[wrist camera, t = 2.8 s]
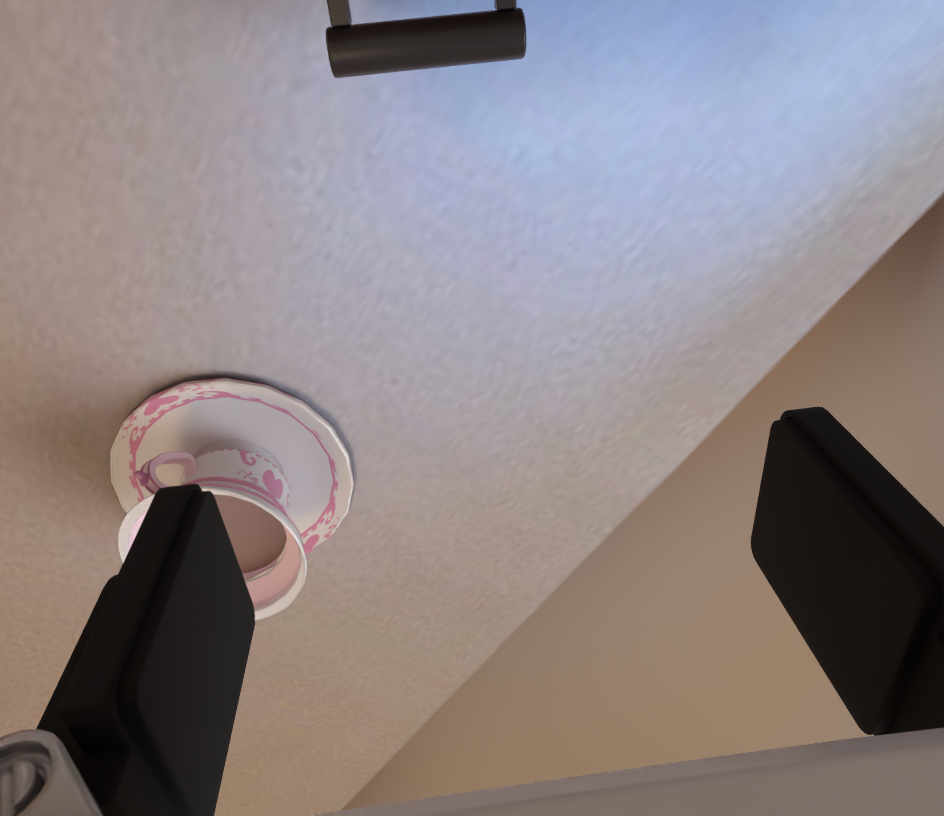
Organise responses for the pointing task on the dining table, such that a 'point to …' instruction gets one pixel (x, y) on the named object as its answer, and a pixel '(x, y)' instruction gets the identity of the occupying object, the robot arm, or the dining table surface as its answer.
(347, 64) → the drawer
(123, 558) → the teacup
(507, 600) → the dining table surface
